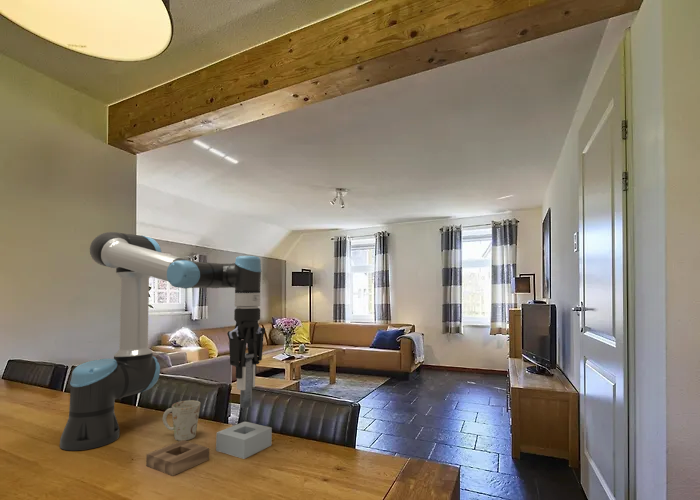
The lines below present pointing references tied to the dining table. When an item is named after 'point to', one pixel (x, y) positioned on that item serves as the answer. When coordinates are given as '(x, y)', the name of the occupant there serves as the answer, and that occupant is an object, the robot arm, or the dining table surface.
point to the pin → (247, 382)
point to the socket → (243, 439)
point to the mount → (177, 457)
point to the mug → (183, 419)
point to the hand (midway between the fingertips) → (245, 387)
